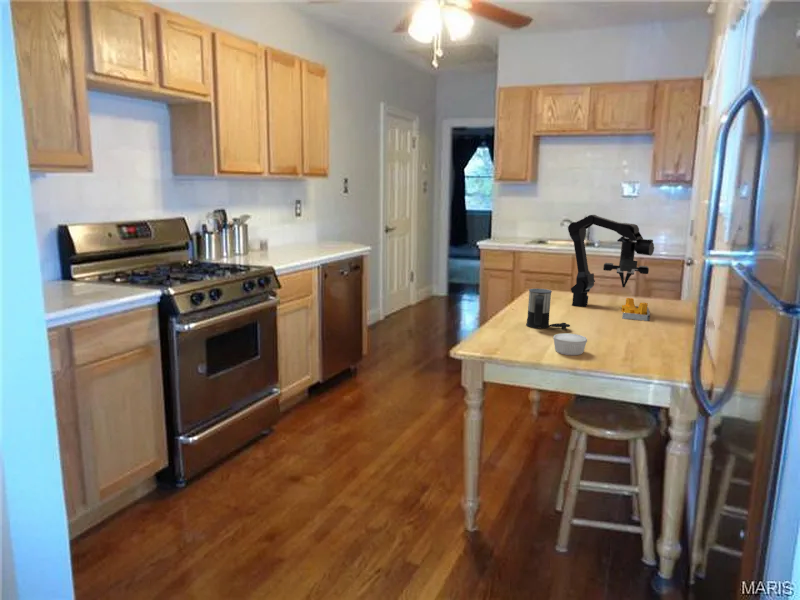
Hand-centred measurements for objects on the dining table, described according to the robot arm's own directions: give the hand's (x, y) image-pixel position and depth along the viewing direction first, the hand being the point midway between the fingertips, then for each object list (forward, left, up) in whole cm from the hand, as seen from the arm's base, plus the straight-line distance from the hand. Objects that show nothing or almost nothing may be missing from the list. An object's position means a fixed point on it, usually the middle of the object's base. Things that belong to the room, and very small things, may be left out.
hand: (623, 287), depth 265 cm
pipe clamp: (+5, -1, -12) cm, 13 cm away
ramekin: (-18, -73, -12) cm, 76 cm away
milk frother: (-28, -42, -12) cm, 52 cm away
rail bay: (+5, -3, -12) cm, 13 cm away
